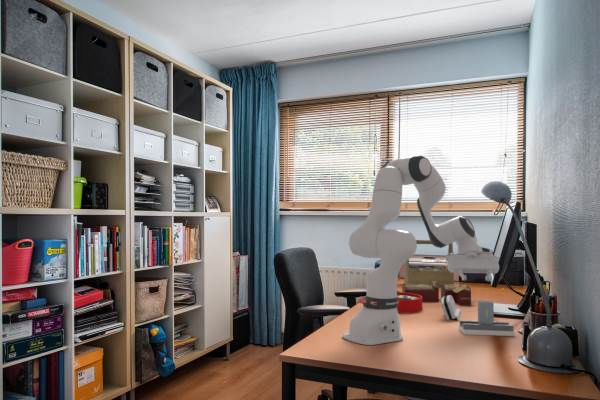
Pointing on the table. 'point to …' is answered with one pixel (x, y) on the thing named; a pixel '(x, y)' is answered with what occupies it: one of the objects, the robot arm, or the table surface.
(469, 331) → the track base
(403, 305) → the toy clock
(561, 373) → the table surface
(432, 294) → the toy houses
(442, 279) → the caddy
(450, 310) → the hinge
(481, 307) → the door panel
